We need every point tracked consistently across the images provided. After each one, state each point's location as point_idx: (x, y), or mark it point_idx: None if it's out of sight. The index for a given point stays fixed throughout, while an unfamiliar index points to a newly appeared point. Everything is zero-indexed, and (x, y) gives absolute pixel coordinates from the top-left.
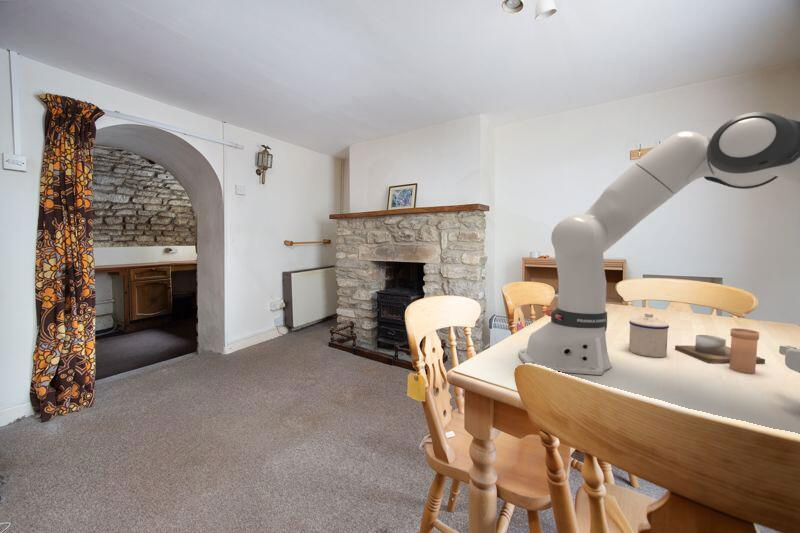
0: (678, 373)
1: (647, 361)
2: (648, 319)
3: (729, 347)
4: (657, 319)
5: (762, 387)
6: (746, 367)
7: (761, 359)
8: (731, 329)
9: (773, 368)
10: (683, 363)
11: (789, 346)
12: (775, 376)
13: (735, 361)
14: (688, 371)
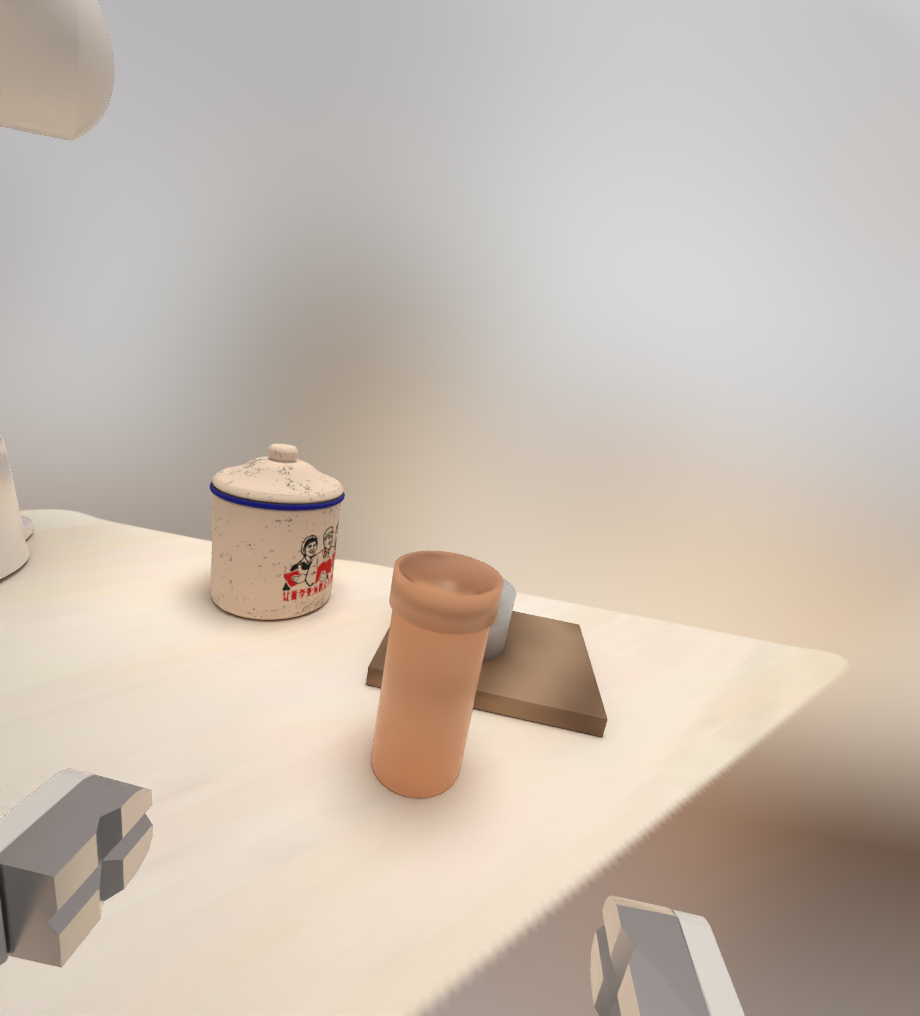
0: (48, 716)
1: (144, 625)
2: (252, 465)
3: (581, 634)
4: (283, 471)
5: (182, 974)
6: (391, 760)
7: (591, 716)
8: (413, 553)
9: (592, 776)
10: (259, 663)
11: (93, 809)
12: (496, 848)
13: (377, 714)
14: (139, 713)
